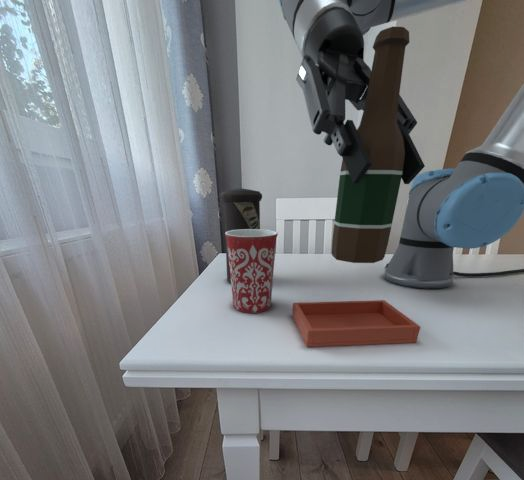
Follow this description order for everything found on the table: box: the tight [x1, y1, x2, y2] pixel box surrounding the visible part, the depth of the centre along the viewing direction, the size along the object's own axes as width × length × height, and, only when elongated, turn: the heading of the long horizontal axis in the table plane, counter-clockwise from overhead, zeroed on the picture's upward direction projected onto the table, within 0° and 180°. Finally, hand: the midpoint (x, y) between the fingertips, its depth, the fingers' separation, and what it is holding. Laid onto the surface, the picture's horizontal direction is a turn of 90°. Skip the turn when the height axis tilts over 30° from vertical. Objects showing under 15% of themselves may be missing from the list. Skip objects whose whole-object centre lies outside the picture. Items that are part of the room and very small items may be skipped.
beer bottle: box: [331, 26, 410, 264], centre depth 38 cm, size 8×8×24 cm
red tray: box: [291, 299, 421, 348], centre depth 47 cm, size 17×12×3 cm
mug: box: [224, 228, 279, 314], centre depth 55 cm, size 13×9×14 cm
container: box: [219, 188, 263, 284], centre depth 68 cm, size 9×9×20 cm
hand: (389, 174), depth 36 cm, fingers closed on beer bottle, 7 cm apart
